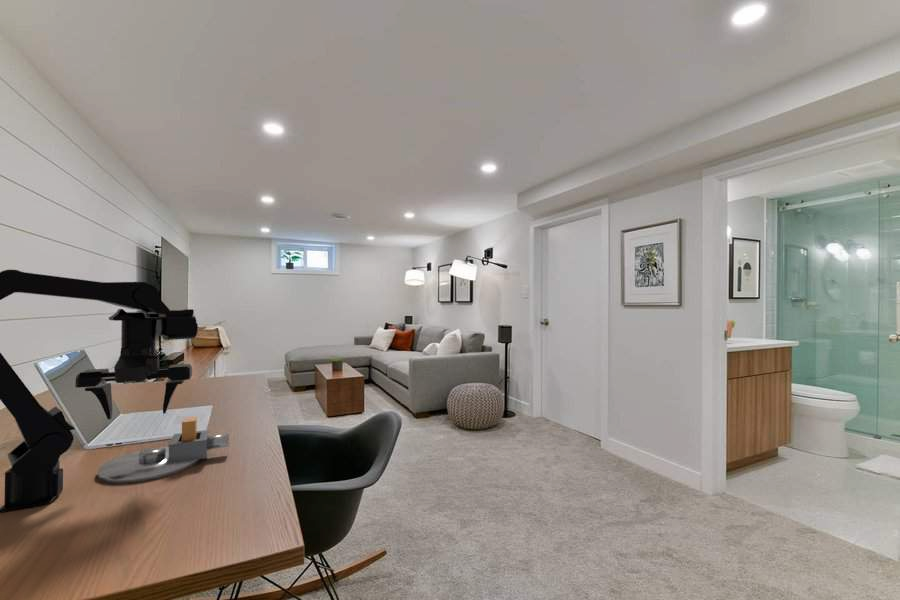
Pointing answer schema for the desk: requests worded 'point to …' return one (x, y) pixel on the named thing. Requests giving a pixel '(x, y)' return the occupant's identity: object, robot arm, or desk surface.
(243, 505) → the desk surface
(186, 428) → the yellow orange block
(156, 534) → the desk surface
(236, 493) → the desk surface
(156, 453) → the rosette bracket
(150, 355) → the robot arm
